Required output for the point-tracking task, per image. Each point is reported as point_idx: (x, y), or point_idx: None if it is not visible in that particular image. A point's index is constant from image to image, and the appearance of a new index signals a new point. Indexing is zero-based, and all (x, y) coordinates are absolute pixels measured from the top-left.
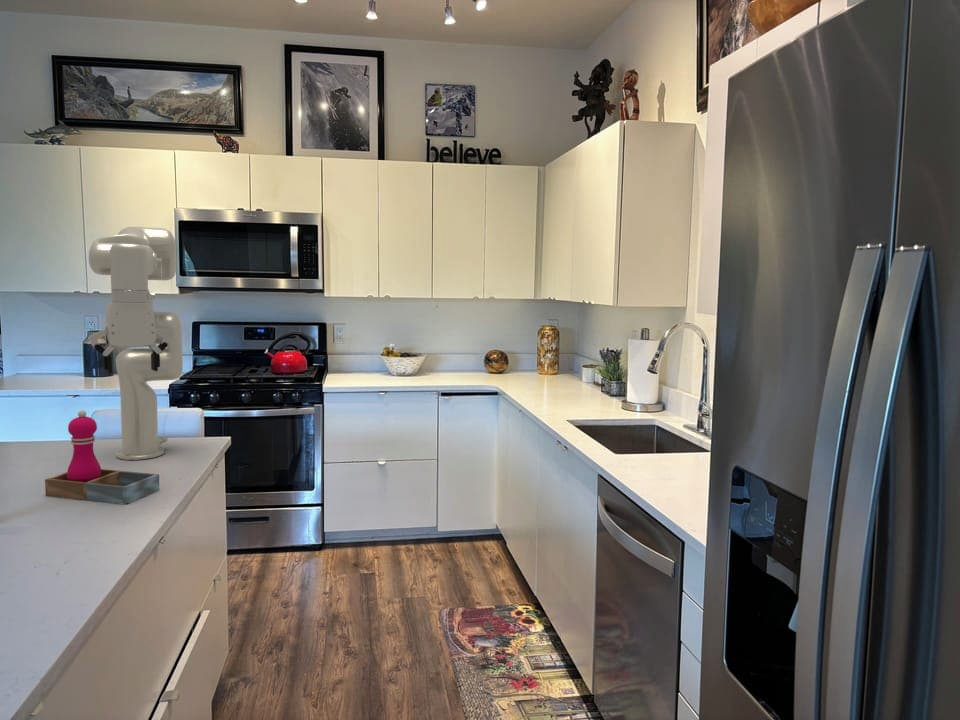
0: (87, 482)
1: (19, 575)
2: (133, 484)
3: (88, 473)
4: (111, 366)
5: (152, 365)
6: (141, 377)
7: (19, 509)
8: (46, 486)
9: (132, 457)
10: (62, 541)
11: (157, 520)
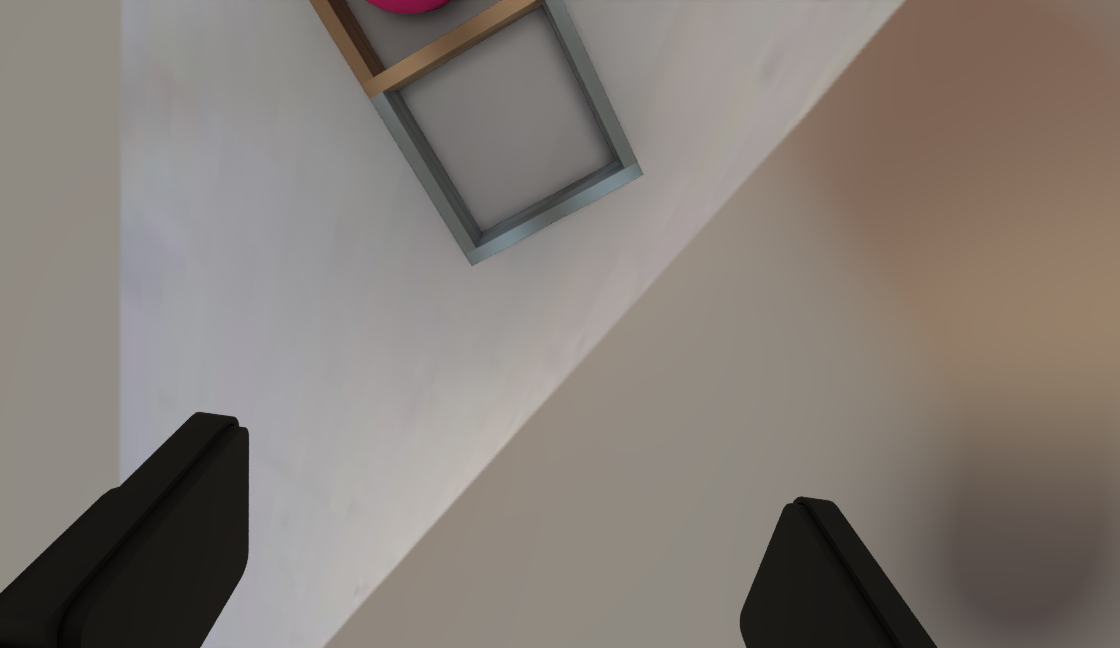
0: (378, 84)
1: None
2: (509, 245)
3: (395, 9)
4: (198, 641)
5: (787, 601)
6: None
7: (158, 29)
8: None
9: None
10: None
11: (490, 444)
